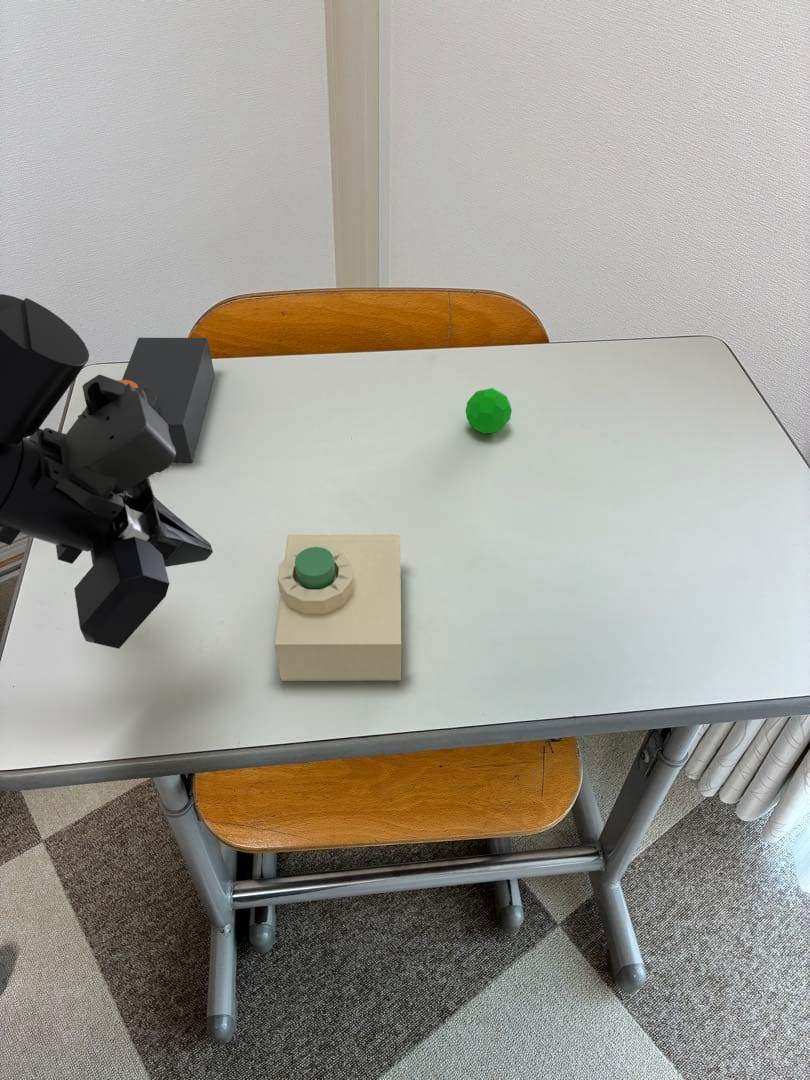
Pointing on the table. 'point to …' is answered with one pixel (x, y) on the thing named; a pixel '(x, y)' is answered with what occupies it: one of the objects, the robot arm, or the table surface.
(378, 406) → the table surface
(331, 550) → the box
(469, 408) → the polyhedron
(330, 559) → the power button
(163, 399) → the dark gray block
